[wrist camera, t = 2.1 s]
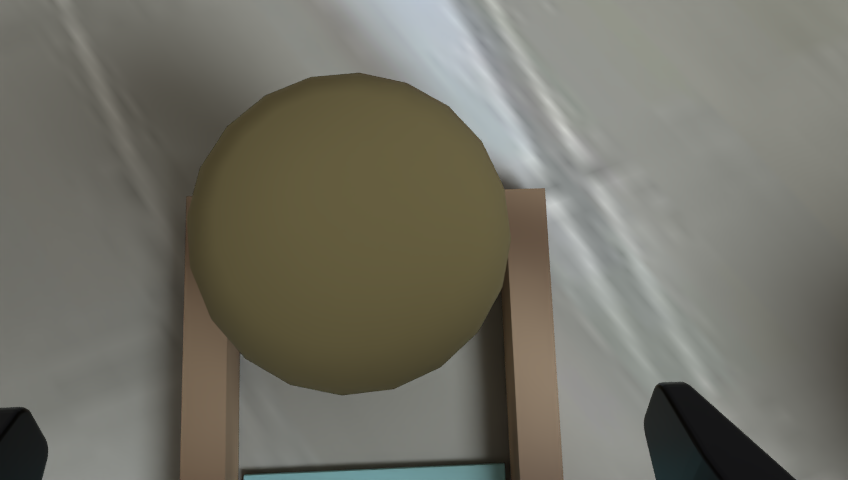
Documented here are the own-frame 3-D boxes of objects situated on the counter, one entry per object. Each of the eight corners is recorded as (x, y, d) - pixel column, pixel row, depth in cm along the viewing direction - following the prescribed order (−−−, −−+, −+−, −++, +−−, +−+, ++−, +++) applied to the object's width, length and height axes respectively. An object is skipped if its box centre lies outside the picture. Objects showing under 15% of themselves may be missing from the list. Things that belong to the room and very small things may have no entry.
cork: (428, 411, 19) (475, 505, 8) (241, 340, 19) (47, 342, 8) (495, 227, 20) (614, 96, 9) (317, 159, 20) (229, -48, 9)
